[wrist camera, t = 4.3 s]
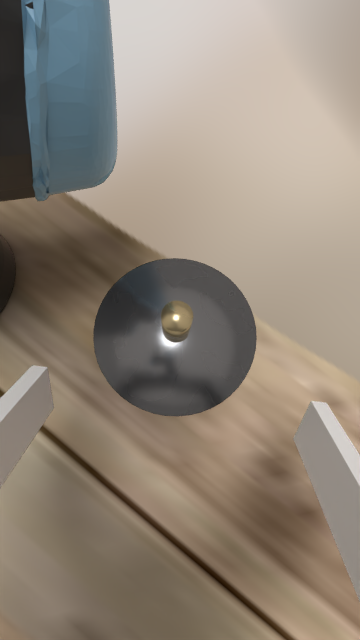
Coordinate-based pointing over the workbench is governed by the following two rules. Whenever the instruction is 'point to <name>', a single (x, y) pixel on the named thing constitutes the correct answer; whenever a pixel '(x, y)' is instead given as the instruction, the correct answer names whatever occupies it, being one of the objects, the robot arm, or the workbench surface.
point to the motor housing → (174, 337)
